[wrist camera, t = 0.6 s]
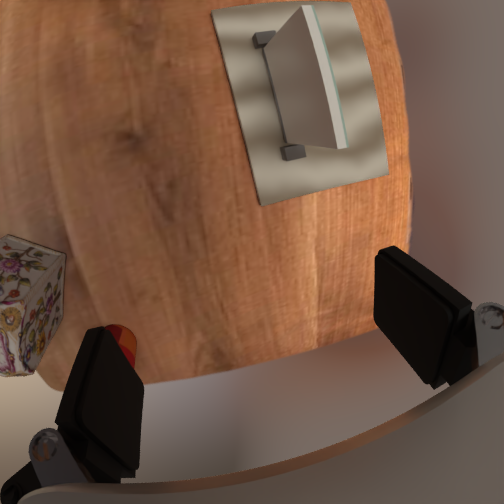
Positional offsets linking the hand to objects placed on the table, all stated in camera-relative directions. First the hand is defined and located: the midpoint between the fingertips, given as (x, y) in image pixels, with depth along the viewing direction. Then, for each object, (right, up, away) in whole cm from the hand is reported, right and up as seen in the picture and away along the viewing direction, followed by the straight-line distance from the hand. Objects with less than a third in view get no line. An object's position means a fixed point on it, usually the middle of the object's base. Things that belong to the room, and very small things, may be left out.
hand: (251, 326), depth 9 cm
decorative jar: (-33, -1, +25) cm, 41 cm away
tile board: (+7, +23, +23) cm, 33 cm away
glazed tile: (+3, +21, +21) cm, 29 cm away
